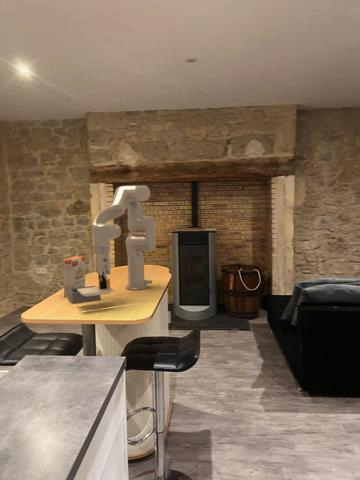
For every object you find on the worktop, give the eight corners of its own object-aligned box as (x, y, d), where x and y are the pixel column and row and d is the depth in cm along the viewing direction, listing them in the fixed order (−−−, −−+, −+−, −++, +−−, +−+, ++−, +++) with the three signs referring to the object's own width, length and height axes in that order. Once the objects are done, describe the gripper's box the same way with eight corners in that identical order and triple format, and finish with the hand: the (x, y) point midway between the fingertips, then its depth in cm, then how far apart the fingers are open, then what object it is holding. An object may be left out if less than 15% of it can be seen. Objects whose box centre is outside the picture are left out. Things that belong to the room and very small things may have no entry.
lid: (107, 289, 176) (106, 276, 175) (114, 293, 166) (113, 280, 165) (77, 292, 169) (76, 279, 169) (82, 297, 159) (82, 284, 158)
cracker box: (74, 298, 186) (72, 259, 184) (63, 298, 187) (62, 259, 185) (86, 292, 199) (85, 255, 197) (76, 292, 200) (75, 255, 198)
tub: (95, 296, 190) (94, 285, 189) (100, 301, 180) (100, 289, 179) (68, 300, 183) (67, 288, 182) (72, 305, 173) (72, 293, 173)
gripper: (114, 251, 162) (115, 290, 164) (104, 248, 176) (105, 285, 177) (98, 252, 159) (99, 292, 160) (89, 249, 172) (90, 286, 174)
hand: (102, 288), depth 169 cm, fingers closed on lid, 1 cm apart
